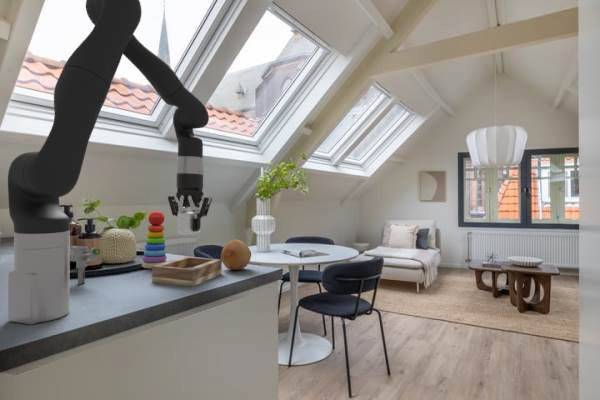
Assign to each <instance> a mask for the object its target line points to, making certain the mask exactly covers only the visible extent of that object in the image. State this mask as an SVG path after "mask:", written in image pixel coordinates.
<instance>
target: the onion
mask: <svg viewBox="0 0 600 400" xmlns="http://www.w3.org/2000/svg"><path fill="white" fill-rule="evenodd" d="M251 258H252V252H251V249H250V247H249V246H248V245H247V244H246V243H245V242H243V241H242V240H239V239H232V240H230V241H229V242H227V243H226V244H225V245H224V247H223V248H222V249H221V254H220V260H222V264H223V265H224V266H225V268H226V269H228V270H237V271H240V270H243V269H244V268H246V267H247V266H248V265H249V263H250V262H251Z"/></svg>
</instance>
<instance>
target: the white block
mask: <svg viewBox="0 0 600 400" xmlns="http://www.w3.org/2000/svg"><path fill="white" fill-rule="evenodd" d="M193 219H194V216H193V212H192V211H190V212H188V211H187V212H186V213H178V217H177V223H176V224H177V225H176V226H177V230H176V231H177V235H189V236H190V235H194V234H201V229H202V224H201V225H200V226H201V227H200V229H199V231H196V232H195V231H193Z"/></svg>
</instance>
